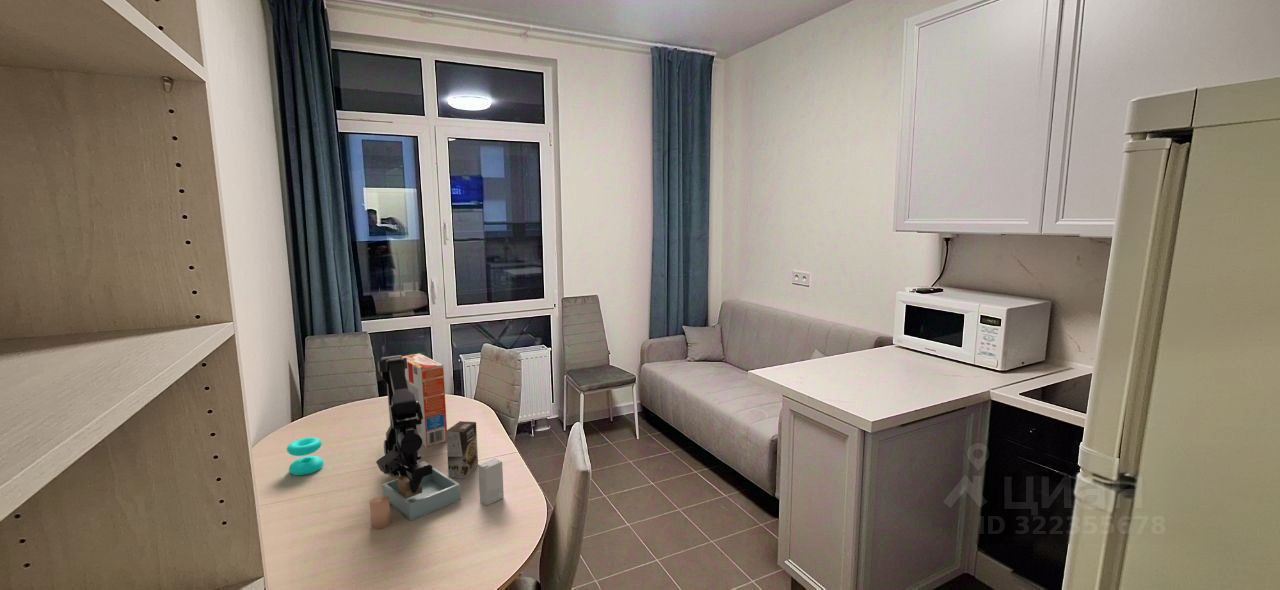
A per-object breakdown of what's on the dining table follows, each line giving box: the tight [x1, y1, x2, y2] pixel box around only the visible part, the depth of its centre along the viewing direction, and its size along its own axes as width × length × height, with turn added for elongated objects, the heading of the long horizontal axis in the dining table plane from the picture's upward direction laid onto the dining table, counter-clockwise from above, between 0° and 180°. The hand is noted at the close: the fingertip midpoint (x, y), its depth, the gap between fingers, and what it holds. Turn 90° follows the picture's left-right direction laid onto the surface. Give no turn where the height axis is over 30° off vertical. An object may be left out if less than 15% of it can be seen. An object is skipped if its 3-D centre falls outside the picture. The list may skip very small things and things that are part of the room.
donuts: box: [286, 436, 324, 476], centre depth 184 cm, size 10×10×10 cm
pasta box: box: [401, 352, 448, 448], centre depth 211 cm, size 23×8×30 cm, turn 43°
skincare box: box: [477, 457, 505, 506], centre depth 164 cm, size 6×4×12 cm
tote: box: [382, 467, 462, 522], centre depth 165 cm, size 18×16×5 cm
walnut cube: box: [396, 475, 422, 499], centre depth 163 cm, size 5×5×5 cm
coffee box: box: [446, 421, 479, 479], centre depth 182 cm, size 9×6×16 cm
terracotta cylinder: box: [368, 495, 392, 530], centre depth 152 cm, size 5×5×7 cm
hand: (410, 489), depth 164 cm, fingers closed on walnut cube, 5 cm apart
